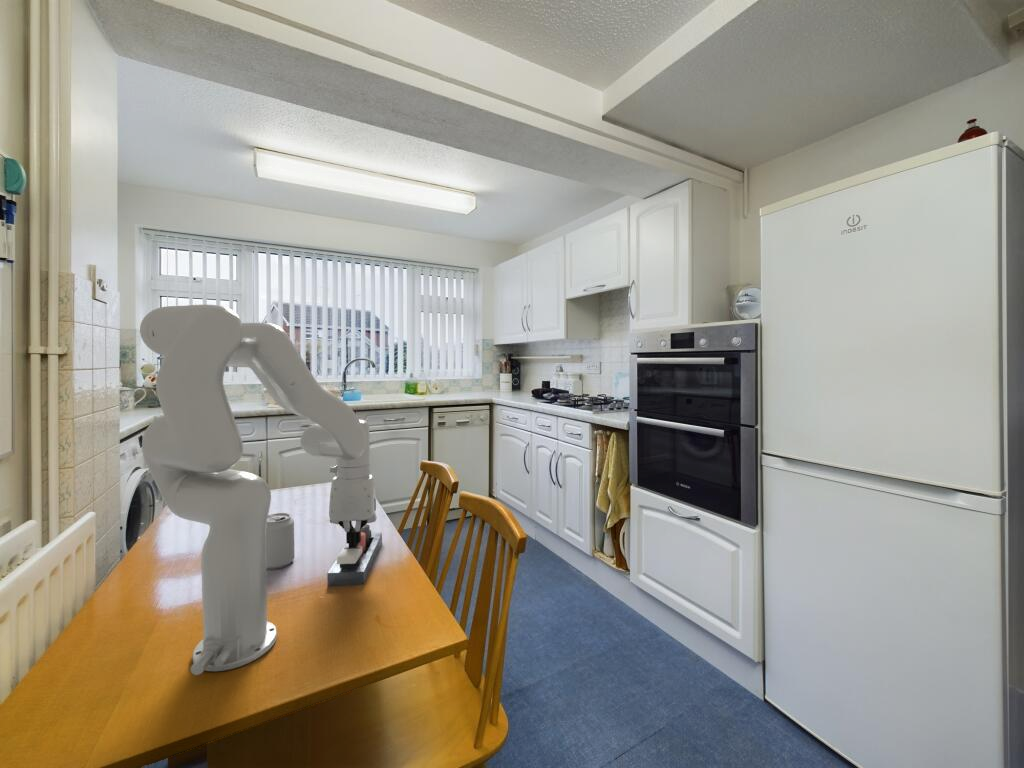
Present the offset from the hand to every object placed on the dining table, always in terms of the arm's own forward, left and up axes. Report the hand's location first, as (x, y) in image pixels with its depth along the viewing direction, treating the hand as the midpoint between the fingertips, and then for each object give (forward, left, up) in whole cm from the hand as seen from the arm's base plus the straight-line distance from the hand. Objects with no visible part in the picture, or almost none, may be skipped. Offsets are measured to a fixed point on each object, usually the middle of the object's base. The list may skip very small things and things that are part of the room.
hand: (353, 545), depth 105 cm
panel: (+4, 0, -6) cm, 7 cm away
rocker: (-3, 0, -1) cm, 3 cm away
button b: (+9, 0, -4) cm, 10 cm away
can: (+5, +20, -6) cm, 21 cm away
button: (+4, 0, -4) cm, 6 cm away
